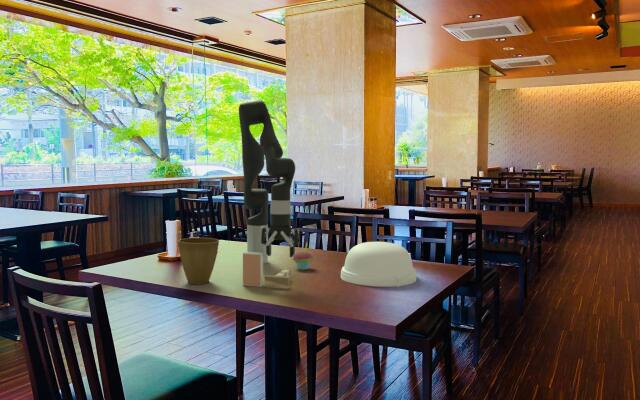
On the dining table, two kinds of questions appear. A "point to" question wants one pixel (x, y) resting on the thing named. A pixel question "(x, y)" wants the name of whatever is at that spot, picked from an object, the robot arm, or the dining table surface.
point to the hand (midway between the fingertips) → (280, 256)
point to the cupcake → (303, 259)
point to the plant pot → (198, 258)
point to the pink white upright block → (252, 269)
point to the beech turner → (278, 280)
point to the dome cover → (378, 265)
